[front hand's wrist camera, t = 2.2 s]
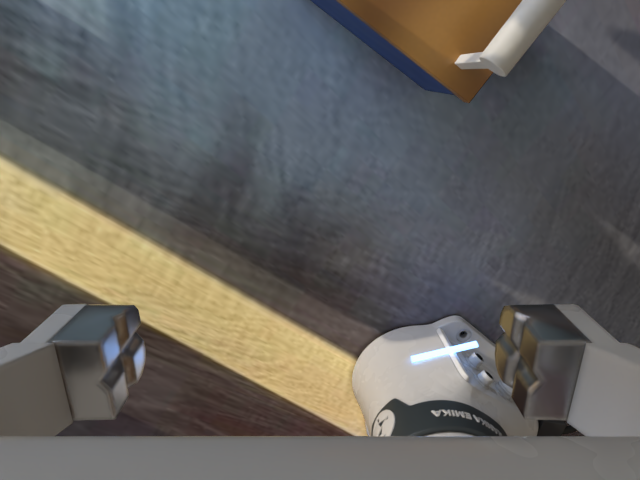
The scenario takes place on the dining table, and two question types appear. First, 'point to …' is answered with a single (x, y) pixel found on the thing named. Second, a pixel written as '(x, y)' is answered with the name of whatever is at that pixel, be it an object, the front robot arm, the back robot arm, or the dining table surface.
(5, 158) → the dining table surface
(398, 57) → the chest
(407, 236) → the dining table surface
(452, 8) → the lid
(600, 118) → the dining table surface
